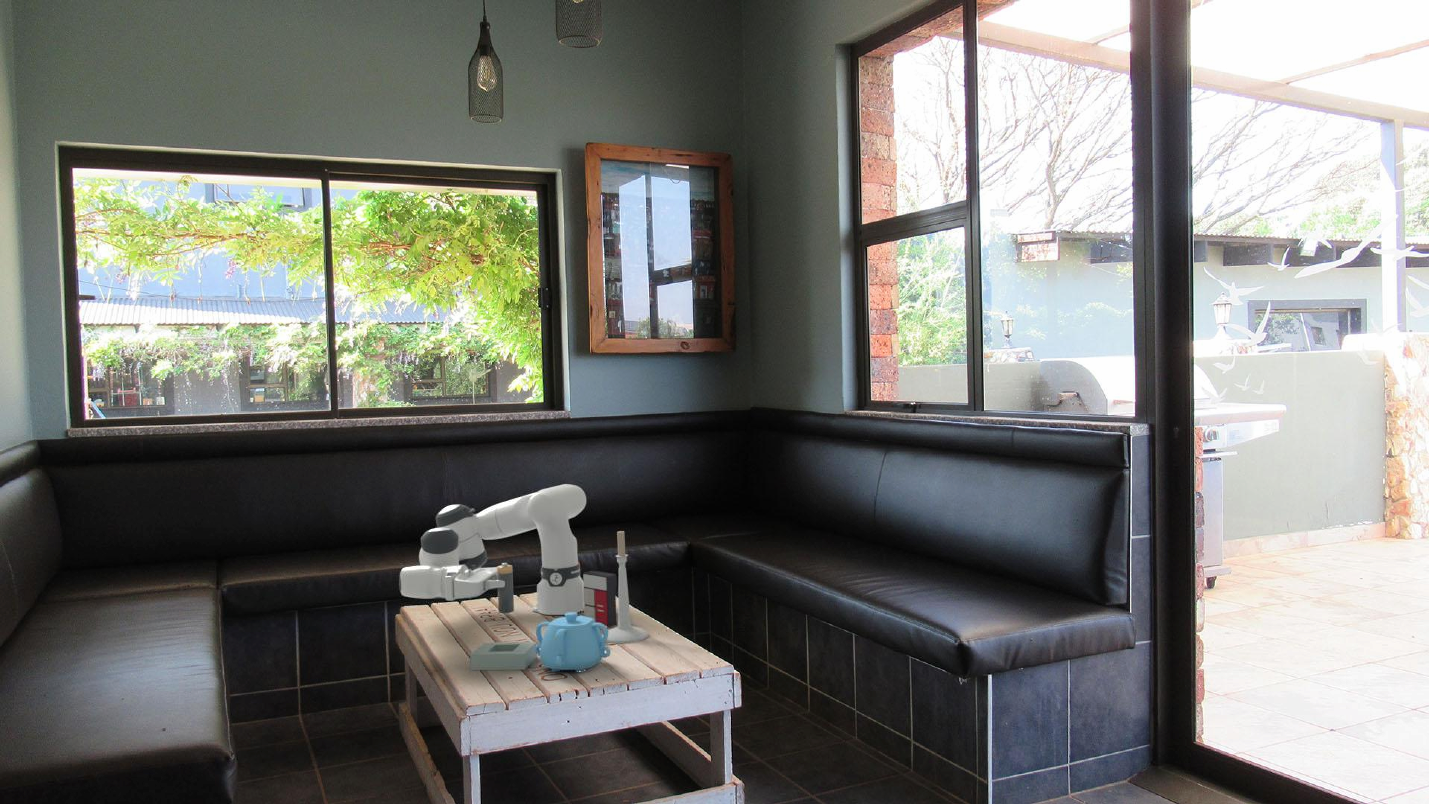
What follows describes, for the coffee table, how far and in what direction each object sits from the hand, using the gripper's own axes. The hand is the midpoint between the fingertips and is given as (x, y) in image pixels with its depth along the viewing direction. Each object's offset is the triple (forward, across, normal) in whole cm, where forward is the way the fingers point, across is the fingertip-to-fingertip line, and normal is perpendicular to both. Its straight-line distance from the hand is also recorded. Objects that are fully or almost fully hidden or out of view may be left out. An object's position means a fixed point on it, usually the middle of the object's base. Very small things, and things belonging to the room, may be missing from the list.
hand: (508, 581), depth 265 cm
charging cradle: (+1, +9, -19) cm, 21 cm away
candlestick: (+28, -15, -19) cm, 37 cm away
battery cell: (-1, 0, -8) cm, 8 cm away
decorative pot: (+20, +12, -19) cm, 30 cm away
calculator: (+17, -30, -20) cm, 40 cm away
